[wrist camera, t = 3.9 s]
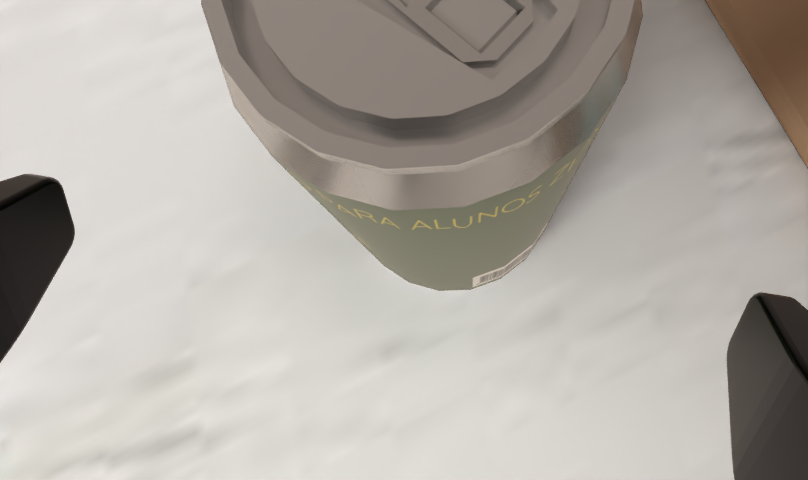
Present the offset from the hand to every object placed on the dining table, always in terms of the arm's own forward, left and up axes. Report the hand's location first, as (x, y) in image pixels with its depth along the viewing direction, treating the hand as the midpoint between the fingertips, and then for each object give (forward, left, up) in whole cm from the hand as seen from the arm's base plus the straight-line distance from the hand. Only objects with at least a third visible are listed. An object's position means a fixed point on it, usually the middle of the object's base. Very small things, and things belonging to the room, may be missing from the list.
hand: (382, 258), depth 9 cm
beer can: (+3, -2, -10) cm, 11 cm away
